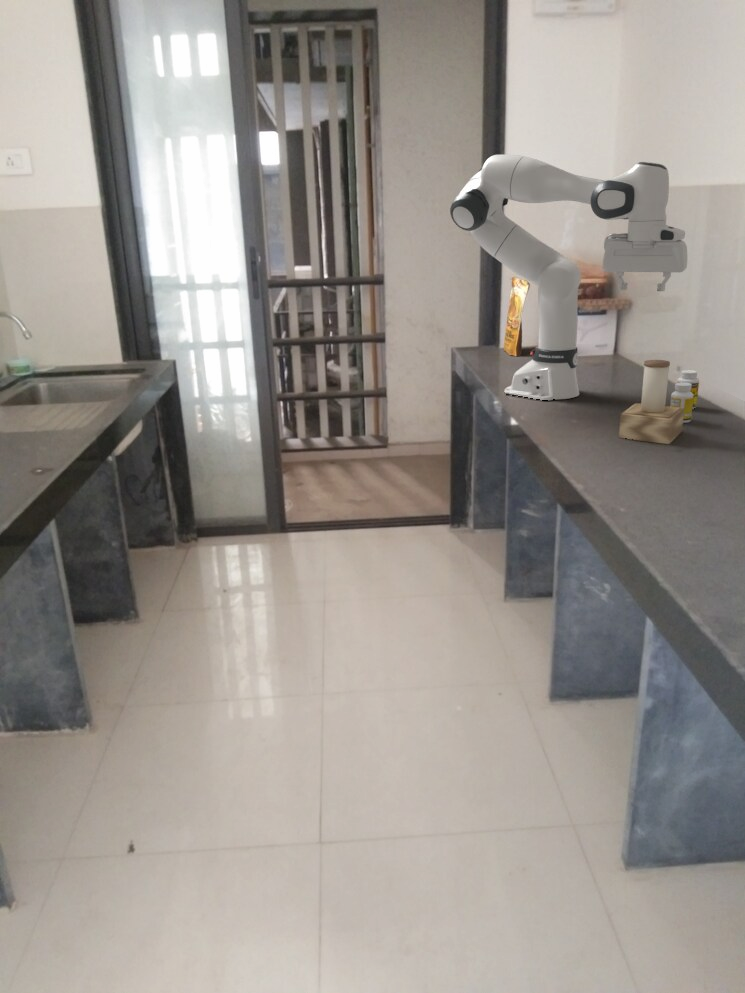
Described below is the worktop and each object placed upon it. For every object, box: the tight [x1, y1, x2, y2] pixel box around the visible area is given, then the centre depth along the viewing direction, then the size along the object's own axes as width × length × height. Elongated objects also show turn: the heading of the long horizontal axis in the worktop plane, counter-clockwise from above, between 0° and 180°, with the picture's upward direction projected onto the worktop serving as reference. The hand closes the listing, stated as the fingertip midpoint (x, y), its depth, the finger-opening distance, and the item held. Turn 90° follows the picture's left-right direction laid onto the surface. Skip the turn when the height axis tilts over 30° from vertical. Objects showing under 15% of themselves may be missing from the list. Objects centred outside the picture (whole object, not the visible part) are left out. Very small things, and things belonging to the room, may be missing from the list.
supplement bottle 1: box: [676, 369, 700, 410], centre depth 213 cm, size 6×6×10 cm
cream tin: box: [640, 359, 671, 413], centre depth 188 cm, size 6×6×12 cm
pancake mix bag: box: [503, 276, 531, 357], centre depth 296 cm, size 7×19×28 cm, turn 2°
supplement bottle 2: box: [669, 382, 693, 424], centre depth 201 cm, size 5×5×10 cm
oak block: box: [618, 402, 684, 445], centre depth 191 cm, size 12×12×6 cm
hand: (641, 290), depth 196 cm, fingers open, 8 cm apart
